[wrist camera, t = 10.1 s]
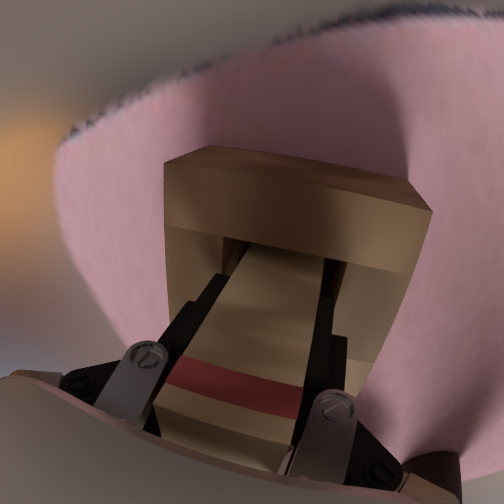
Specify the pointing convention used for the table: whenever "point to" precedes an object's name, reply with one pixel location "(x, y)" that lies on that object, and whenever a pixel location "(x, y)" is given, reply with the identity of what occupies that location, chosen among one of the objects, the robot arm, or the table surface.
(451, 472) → the bottle
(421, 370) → the table surface
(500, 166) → the table surface
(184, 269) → the wooden square socket block
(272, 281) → the red striped block
